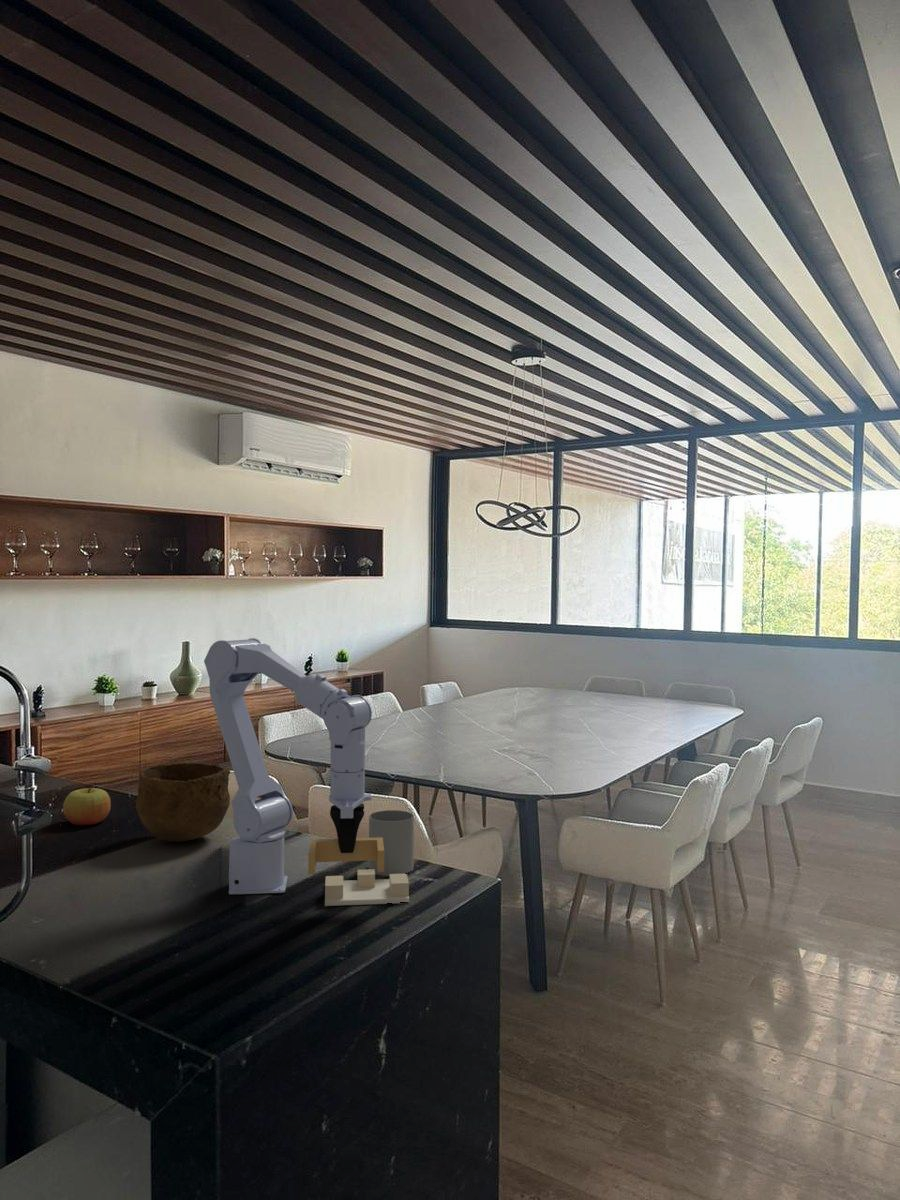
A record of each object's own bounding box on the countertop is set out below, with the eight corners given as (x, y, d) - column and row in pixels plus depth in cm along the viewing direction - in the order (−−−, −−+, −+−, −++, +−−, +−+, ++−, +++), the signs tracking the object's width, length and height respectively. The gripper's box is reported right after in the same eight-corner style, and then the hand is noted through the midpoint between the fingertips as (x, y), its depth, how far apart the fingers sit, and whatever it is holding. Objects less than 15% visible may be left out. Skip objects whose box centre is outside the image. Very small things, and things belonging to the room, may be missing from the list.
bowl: (249, 836, 184) (249, 766, 183) (178, 859, 168) (178, 782, 168) (189, 823, 194) (189, 757, 194) (117, 843, 178) (117, 771, 178)
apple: (99, 829, 189) (99, 792, 189) (55, 828, 189) (55, 792, 189) (117, 817, 198) (117, 782, 198) (75, 817, 199) (75, 782, 199)
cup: (406, 877, 158) (407, 822, 158) (363, 874, 160) (363, 820, 160) (417, 863, 166) (417, 811, 166) (376, 860, 168) (376, 809, 168)
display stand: (409, 902, 145) (409, 885, 145) (324, 905, 143) (325, 887, 143) (404, 883, 155) (405, 866, 155) (326, 885, 153) (326, 868, 153)
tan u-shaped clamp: (384, 871, 138) (384, 850, 138) (308, 874, 137) (308, 852, 137) (382, 857, 146) (382, 837, 146) (310, 859, 144) (310, 839, 144)
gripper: (372, 778, 137) (371, 863, 138) (370, 760, 152) (370, 837, 152) (327, 779, 137) (327, 864, 137) (330, 761, 151) (329, 838, 151)
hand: (347, 850), depth 144 cm, fingers closed on tan u-shaped clamp
